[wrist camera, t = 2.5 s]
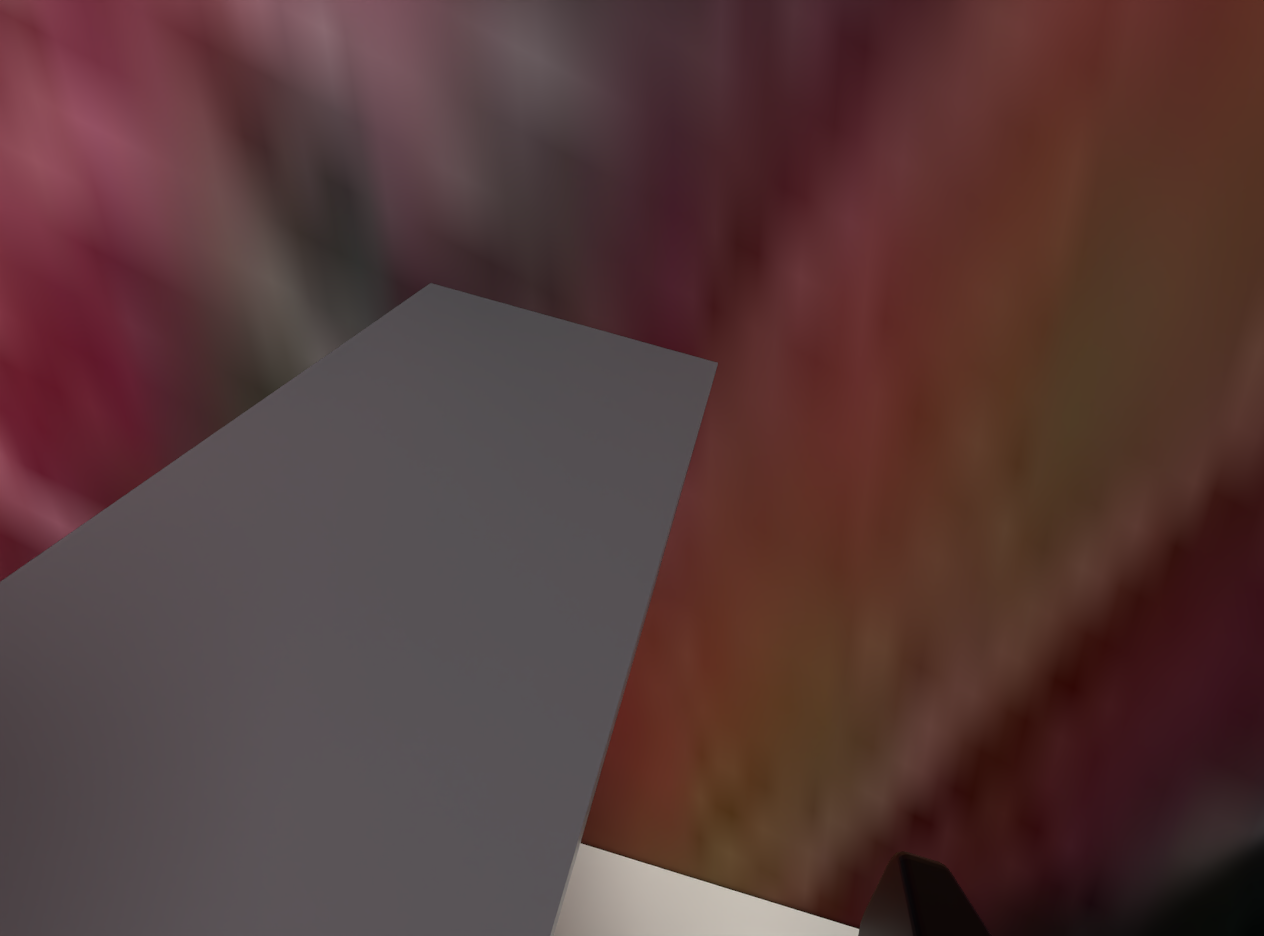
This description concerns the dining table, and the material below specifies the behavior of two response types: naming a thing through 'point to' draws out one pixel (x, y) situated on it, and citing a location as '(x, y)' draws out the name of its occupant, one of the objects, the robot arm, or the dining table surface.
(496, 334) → the grey rectangular block
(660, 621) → the dining table surface
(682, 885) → the socket block
